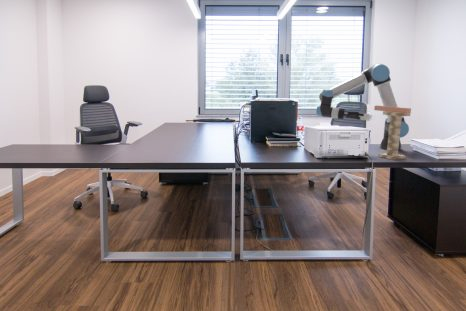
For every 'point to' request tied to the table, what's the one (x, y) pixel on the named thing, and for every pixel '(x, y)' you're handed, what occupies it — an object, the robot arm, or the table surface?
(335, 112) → the robot arm
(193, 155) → the table surface
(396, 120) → the pedestal stand
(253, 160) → the table surface
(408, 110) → the bar
